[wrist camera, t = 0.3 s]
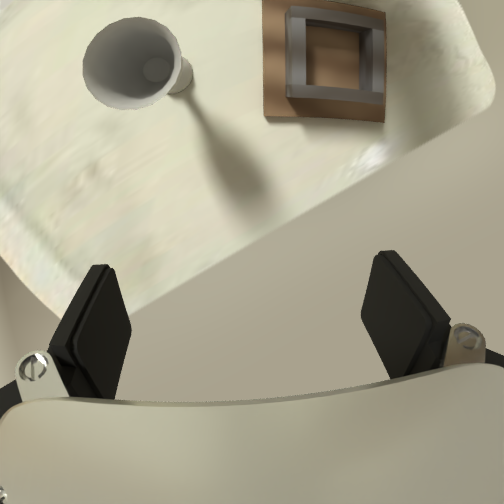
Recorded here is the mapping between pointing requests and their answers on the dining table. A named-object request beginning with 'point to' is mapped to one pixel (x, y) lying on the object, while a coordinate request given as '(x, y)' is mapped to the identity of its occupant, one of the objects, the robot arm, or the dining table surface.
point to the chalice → (134, 64)
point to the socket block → (323, 60)
